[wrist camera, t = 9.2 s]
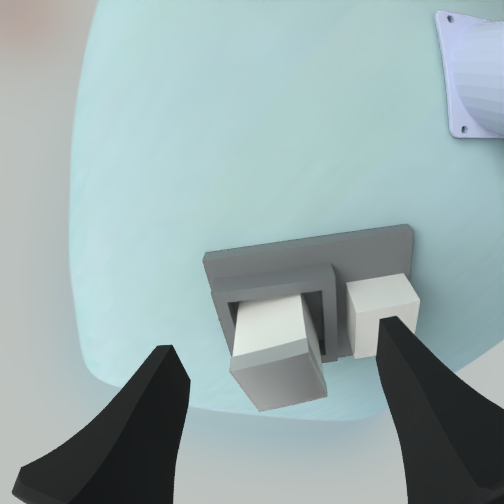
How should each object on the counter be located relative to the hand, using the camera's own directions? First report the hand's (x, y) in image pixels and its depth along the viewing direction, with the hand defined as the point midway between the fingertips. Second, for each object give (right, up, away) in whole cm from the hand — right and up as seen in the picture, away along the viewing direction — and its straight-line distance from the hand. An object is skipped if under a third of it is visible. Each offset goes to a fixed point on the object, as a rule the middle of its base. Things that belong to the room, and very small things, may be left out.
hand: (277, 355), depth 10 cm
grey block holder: (+4, 0, +11) cm, 12 cm away
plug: (+1, -1, +10) cm, 10 cm away
